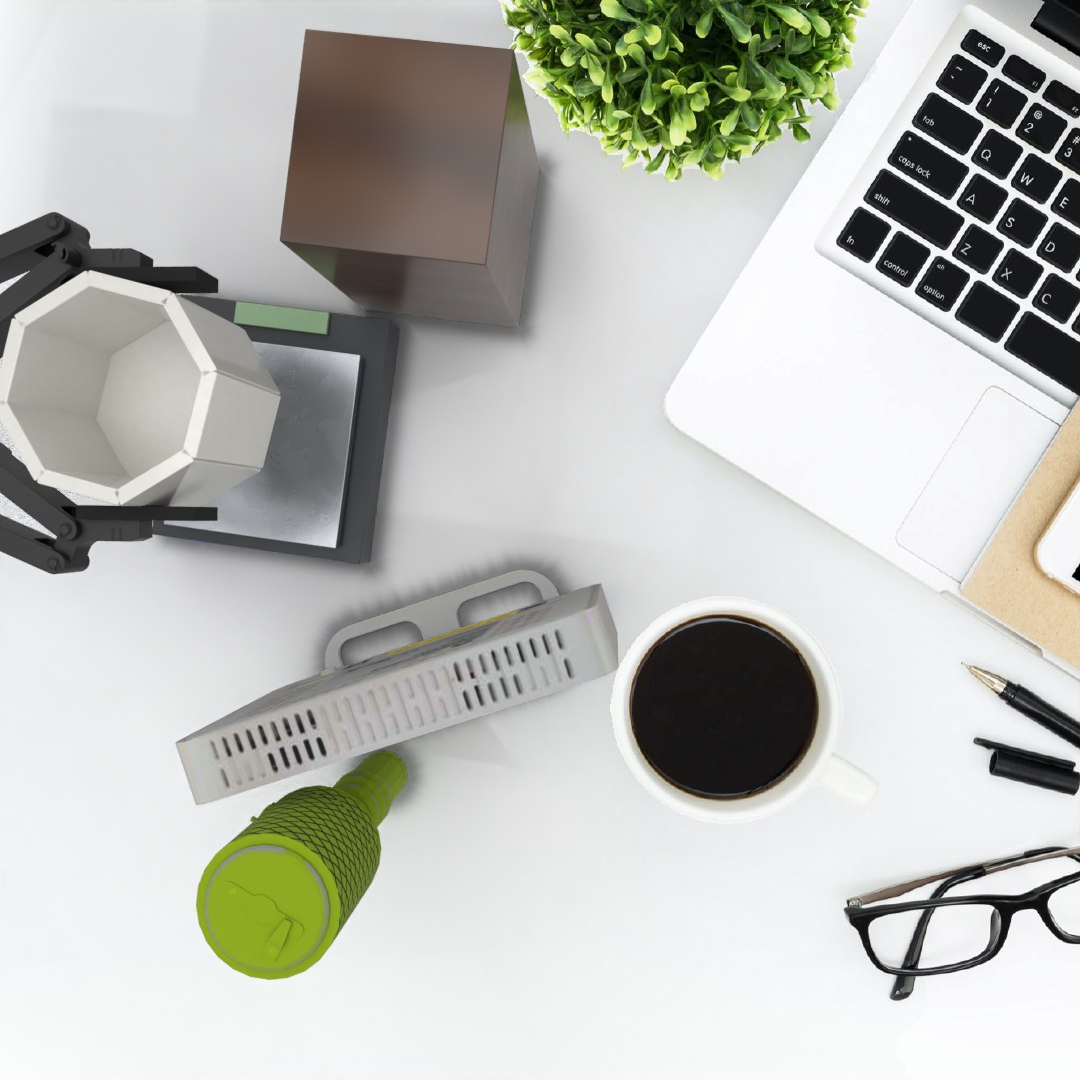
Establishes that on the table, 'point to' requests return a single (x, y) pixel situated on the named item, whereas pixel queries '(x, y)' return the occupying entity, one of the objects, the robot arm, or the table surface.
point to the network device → (407, 685)
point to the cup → (134, 395)
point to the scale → (379, 354)
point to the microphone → (298, 872)
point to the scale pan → (298, 453)
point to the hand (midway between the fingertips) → (208, 397)
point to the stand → (413, 175)
